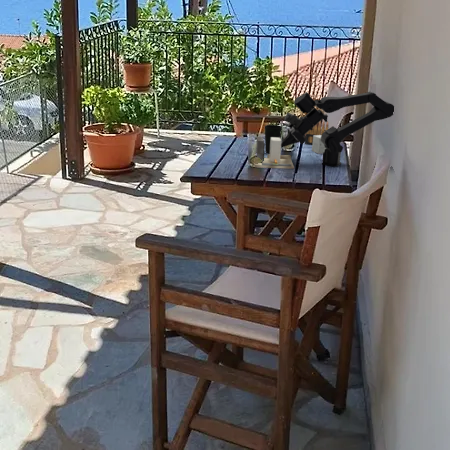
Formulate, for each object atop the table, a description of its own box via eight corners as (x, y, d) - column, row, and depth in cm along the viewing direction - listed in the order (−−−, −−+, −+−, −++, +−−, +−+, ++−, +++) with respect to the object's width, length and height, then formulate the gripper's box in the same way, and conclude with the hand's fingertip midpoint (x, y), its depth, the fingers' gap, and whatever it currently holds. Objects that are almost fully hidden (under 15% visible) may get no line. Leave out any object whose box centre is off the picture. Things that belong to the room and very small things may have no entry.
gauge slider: (278, 158, 272) (280, 137, 269) (280, 164, 263) (282, 143, 259) (269, 158, 272) (270, 137, 269) (271, 164, 262) (272, 142, 259)
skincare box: (318, 154, 288) (319, 138, 286) (311, 151, 293) (312, 135, 291) (329, 153, 290) (331, 137, 288) (323, 150, 296) (324, 134, 293)
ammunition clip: (304, 144, 306) (306, 119, 302) (305, 143, 308) (307, 118, 304) (326, 147, 302) (329, 121, 298) (327, 146, 304) (330, 121, 300)
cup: (274, 156, 281) (276, 128, 277) (259, 152, 286) (261, 126, 282) (283, 153, 287) (285, 126, 283) (269, 150, 291) (271, 123, 287)
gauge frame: (290, 161, 274) (292, 138, 270) (293, 168, 262) (295, 144, 259) (253, 159, 274) (254, 136, 270) (254, 167, 262) (256, 143, 258)
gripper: (294, 102, 271) (266, 127, 274) (299, 110, 253) (269, 137, 257) (311, 122, 274) (283, 146, 277) (317, 131, 256) (288, 157, 259)
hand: (280, 146), depth 267 cm, fingers closed, pressing on gauge slider
